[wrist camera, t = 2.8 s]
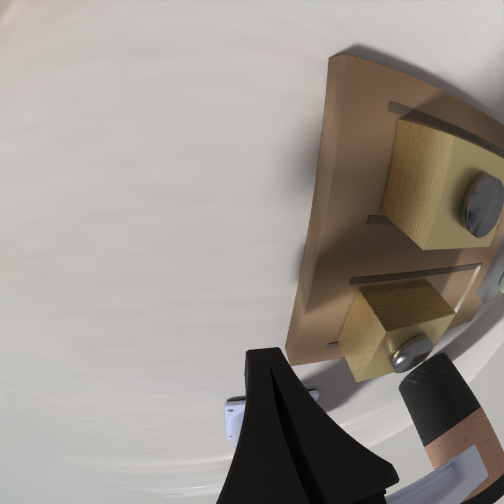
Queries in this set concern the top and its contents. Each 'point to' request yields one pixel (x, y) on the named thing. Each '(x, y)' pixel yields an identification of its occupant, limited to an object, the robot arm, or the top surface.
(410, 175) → the slide
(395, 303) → the slide
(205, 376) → the top surface
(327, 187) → the base
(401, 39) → the top surface
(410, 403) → the travel mug
